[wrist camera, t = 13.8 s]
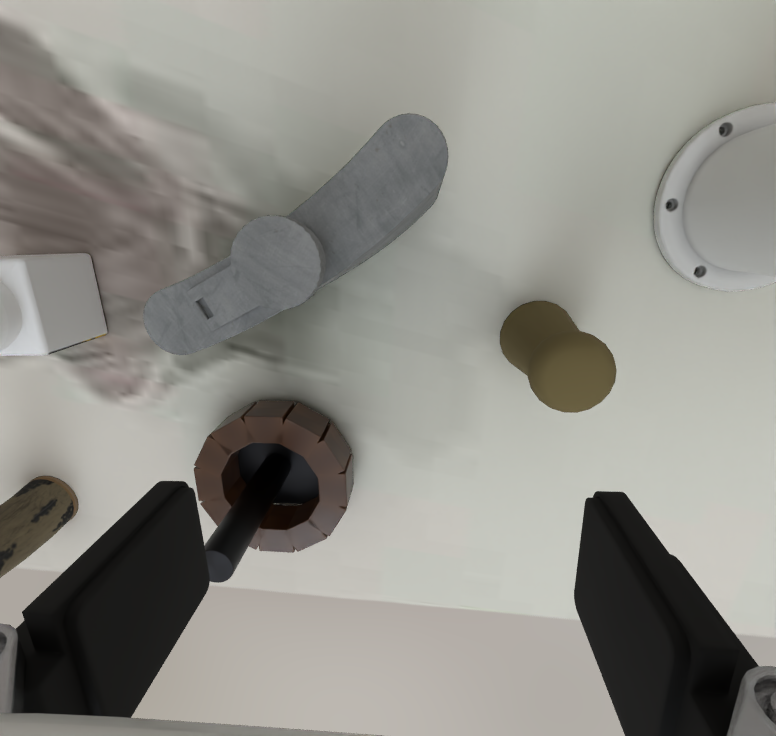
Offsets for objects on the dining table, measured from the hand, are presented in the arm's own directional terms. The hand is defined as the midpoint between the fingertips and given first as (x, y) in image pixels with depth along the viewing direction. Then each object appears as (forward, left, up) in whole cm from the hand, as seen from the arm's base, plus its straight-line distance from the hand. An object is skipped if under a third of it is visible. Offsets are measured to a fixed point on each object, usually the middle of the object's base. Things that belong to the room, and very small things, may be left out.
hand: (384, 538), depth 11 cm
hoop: (+12, +14, -27) cm, 33 cm away
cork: (-10, +2, -28) cm, 30 cm away
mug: (+38, +18, -28) cm, 51 cm away
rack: (+13, +14, -28) cm, 34 cm away
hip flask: (+5, -6, -28) cm, 30 cm away
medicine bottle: (+31, -2, -28) cm, 42 cm away
